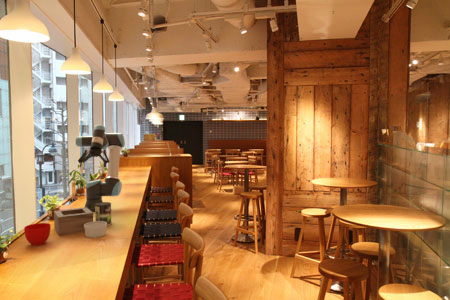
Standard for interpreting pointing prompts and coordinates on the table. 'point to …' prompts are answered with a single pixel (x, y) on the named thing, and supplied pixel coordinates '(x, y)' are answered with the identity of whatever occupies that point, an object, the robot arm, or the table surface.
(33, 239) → the ceramic cup
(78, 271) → the table surface
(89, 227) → the ramekin
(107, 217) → the coffee can
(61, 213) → the brown square bin
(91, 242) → the table surface
